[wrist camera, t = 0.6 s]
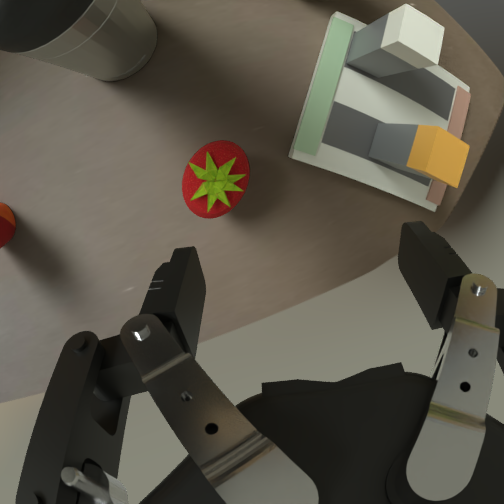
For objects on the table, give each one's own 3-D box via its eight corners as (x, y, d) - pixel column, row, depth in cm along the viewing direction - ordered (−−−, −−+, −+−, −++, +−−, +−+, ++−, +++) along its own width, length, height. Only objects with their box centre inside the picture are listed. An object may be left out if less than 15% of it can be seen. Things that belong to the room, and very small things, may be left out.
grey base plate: (286, 156, 34) (323, 172, 21) (329, 15, 28) (380, -29, 15) (427, 208, 37) (494, 243, 25) (461, 88, 31) (533, 88, 19)
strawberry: (177, 192, 34) (161, 216, 25) (206, 129, 32) (200, 129, 23) (226, 213, 35) (228, 245, 26) (256, 152, 33) (270, 161, 24)
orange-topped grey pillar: (368, 156, 32) (425, 171, 22) (378, 123, 31) (438, 126, 21) (396, 168, 33) (457, 188, 23) (406, 136, 31) (469, 146, 21)
